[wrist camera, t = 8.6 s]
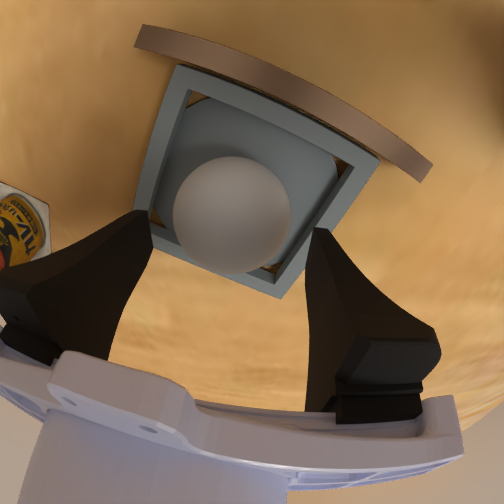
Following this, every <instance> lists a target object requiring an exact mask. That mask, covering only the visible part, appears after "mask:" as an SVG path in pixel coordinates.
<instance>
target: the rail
mask: <svg viewBox="0 0 504 504" xmlns="http://www.w3.org/2000/svg"><path fill="white" fill-rule="evenodd" d="M134 47H135V48H140V49H144V50H148V51H152V52H155V53H159V54H163V55H166V56H170V57H173V58H177V59H180V60H183V61H186V62H189V63H192V64H196V65H199V66H201V67H204V68H207V69H210V70H213V71H216V72H218V73H221V74H224V75H226V76H229V77H232V78H234V79H237V80H239V81H242V82H244V83H246V84H249V85H251V86H254V87H256V88H258V89H261V90H263V91H265V92H267V93H270V94H272V95H274V96H276V97H278V98H280V99H282V100H285V101H287V102H289V103H291V104H293V105H295V106H297V107H299V108H301V109H303V110H305V111H307V112H309V113H310V114H312V115H314V116H316V117H318V118H320V119H322V120H324V121H325V122H327V123H329V124H331V125H333V126H334V127H336V128H338V129H340V130H341V131H343V132H345V133H346V134H348V135H350V136H351V137H353V138H355V139H356V140H358V141H360V142H361V143H363V144H364V145H366V146H368V147H369V148H371V149H372V150H374V151H375V152H377V153H378V154H380V155H381V156H383V157H384V158H386V159H387V160H389V161H390V162H392V163H393V164H395V165H396V166H398V167H399V168H400V169H402V170H403V171H405V172H406V173H407V174H409V175H410V176H412V177H413V178H414V179H416V180H417V181H418V182H420V183H421V182H422V181H423V179H424V178H425V176H426V175H427V173H428V172H429V170H430V169H431V168H432V166H433V164H432V163H431V162H430V161H428V160H427V159H426V158H425V157H424V156H422V155H421V154H420V153H419V152H418V151H416V150H415V149H414V148H412V147H411V146H410V145H409V144H407V143H406V142H405V141H403V140H402V139H400V138H399V137H398V136H396V135H395V134H393V133H392V132H391V131H389V130H388V129H386V128H385V127H383V126H382V125H380V124H379V123H377V122H376V121H374V120H373V119H371V118H370V117H368V116H367V115H365V114H364V113H362V112H360V111H359V110H357V109H356V108H354V107H352V106H351V105H349V104H347V103H346V102H344V101H342V100H341V99H339V98H337V97H335V96H334V95H332V94H330V93H328V92H326V91H325V90H323V89H321V88H319V87H317V86H315V85H313V84H311V83H309V82H307V81H306V80H304V79H302V78H299V77H297V76H295V75H293V74H291V73H289V72H287V71H285V70H283V69H281V68H278V67H276V66H274V65H272V64H269V63H267V62H265V61H262V60H260V59H257V58H255V57H253V56H250V55H247V54H245V53H242V52H240V51H237V50H234V49H232V48H229V47H226V46H223V45H220V44H217V43H214V42H211V41H208V40H205V39H202V38H198V37H195V36H192V35H188V34H185V33H181V32H177V31H173V30H169V29H165V28H161V27H156V26H150V25H145V24H143V25H142V27H141V30H140V32H139V35H138V37H137V40H136V43H135V45H134Z"/></svg>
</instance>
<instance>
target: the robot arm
mask: <svg viewBox="0 0 504 504" xmlns="http://www.w3.org/2000/svg"><path fill="white" fill-rule="evenodd" d="M152 250H153V242H152V236H151V230H150V223H149V217H148V210H137V209H136V210H133V211H131V212H129V213H127V214H125V215H123V216H122V217H120V218H118V219H116V220H115V221H113V222H111V223H110V224H108V225H106V226H105V227H103V228H101V229H100V230H98V231H96V232H94V233H93V234H91V235H89V236H87V237H86V238H84V239H82V240H80V241H78V242H76V243H74V244H72V245H70V246H68V247H66V248H64V249H62V250H59V251H57V252H54V253H52V254H49V255H47V256H44V257H41V258H38V259H36V260H32V261H29V262H26V263H22V264H18V265H14V266H10V267H5V268H3V269H2V270H1V271H0V314H1V316H2V317H3V319H4V320H5V321H6V323H7V324H6V325H5V327H4V328H3V327H2V326H1V325H0V395H1V396H2V397H4V398H5V399H7V400H8V401H9V402H11V403H12V404H14V405H15V406H17V407H18V408H20V409H21V410H23V411H24V412H26V413H27V414H29V415H31V416H32V417H34V418H35V419H37V420H39V421H40V422H42V423H44V424H43V426H42V429H41V431H40V434H39V436H38V439H37V442H36V445H35V447H34V450H33V453H32V456H31V459H30V462H29V465H28V468H27V471H26V474H25V478H24V481H23V484H22V488H21V491H20V495H19V499H18V503H17V504H286V503H287V492H288V491H304V490H305V491H306V490H325V489H338V488H347V487H355V486H363V485H370V484H376V483H382V482H388V481H393V480H398V479H403V478H408V477H412V476H417V475H421V474H425V473H428V472H430V471H432V470H435V469H437V468H439V467H441V466H444V465H446V464H448V463H450V462H452V461H454V460H456V459H458V458H460V457H462V456H463V455H464V448H463V441H462V435H461V430H460V424H459V419H458V414H457V410H456V405H455V401H454V397H453V395H445V396H438V397H431V398H427V399H424V400H422V401H421V399H420V394H419V393H421V392H422V391H423V385H422V380H423V379H424V378H425V377H426V376H427V375H428V374H429V373H430V372H431V371H432V370H433V369H434V368H435V366H436V365H437V363H438V362H439V360H440V358H441V355H442V354H441V348H440V345H439V342H438V339H437V336H436V333H435V331H434V328H432V327H431V326H429V325H427V324H426V323H424V322H422V321H420V320H419V319H417V318H415V317H414V316H412V315H411V314H409V313H408V312H406V311H405V310H404V309H402V308H401V307H399V306H398V305H397V304H395V303H394V302H393V301H392V300H390V299H389V298H388V297H387V296H386V295H384V294H383V293H382V292H381V291H380V290H379V289H378V288H377V287H375V286H374V285H373V284H372V283H371V282H370V281H369V280H368V279H367V278H366V277H365V276H364V274H363V273H362V272H361V271H360V270H359V269H358V268H357V266H356V265H355V264H354V263H353V262H352V261H351V259H350V258H349V257H348V256H347V254H346V253H345V252H344V250H343V249H342V248H341V246H340V245H339V243H338V242H337V241H336V239H335V238H334V236H333V235H332V234H331V232H330V231H329V230H328V229H327V228H319V227H313V232H312V236H311V241H310V246H309V251H308V255H307V260H306V264H305V291H306V301H307V310H308V321H309V336H310V338H309V364H308V380H307V392H306V402H305V411H304V412H296V411H281V410H269V409H259V408H250V407H242V406H234V405H227V404H220V403H214V402H208V401H202V400H197V399H193V397H192V396H191V395H190V393H189V392H188V391H187V390H186V389H185V388H184V387H183V386H181V385H179V384H177V383H176V382H174V381H172V380H170V379H168V378H165V377H162V376H159V375H156V374H153V373H150V372H146V371H142V370H138V369H134V368H130V367H126V366H123V365H119V364H116V363H112V362H109V361H108V357H109V353H110V349H111V345H112V342H113V338H114V335H115V332H116V329H117V326H118V323H119V320H120V317H121V315H122V312H123V309H124V307H125V305H126V303H127V301H128V299H129V297H130V295H131V293H132V292H133V290H134V288H135V286H136V284H137V282H138V281H139V279H140V277H141V275H142V273H143V271H144V269H145V268H146V266H147V263H148V261H149V258H150V256H151V253H152Z"/></svg>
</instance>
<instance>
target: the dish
mask: <svg viewBox="0 0 504 504" xmlns="http://www.w3.org/2000/svg"><path fill="white" fill-rule="evenodd" d="M192 91H195V92H198V93H201V94H203V95H206V96H209V97H211V98H208V99H205V100H202V101H200V102H198V103H196V104H194V105H192V106H190V107H188V108H187V109H185V108H186V105H187V102H188V100H189V97H190V95H191V92H192ZM332 154H333V155H335V156H336V157H338V158H340V159H342V160H343V161H345V162H347V163H349V165H348V166H347V168H346V169H345V171H344V173H343V174H342V176H341V177H340V179H339V180H338V174H337V168H336V164H335V161H334V158H333V155H332ZM221 157H243V158H248V159H251V160H254V161H256V162H258V163H260V164H262V165H264V166H265V167H267V168H268V169H269V170H271V171H272V172H273V173H274V174H275V175H276V176H277V178H278V179H279V180H280V181H281V183H282V185H283V186H284V188H285V190H286V192H287V195H288V198H289V202H290V207H291V223H290V229H289V232H288V235H287V238H286V240H285V242H284V244H283V246H282V247H281V249H280V250H279V251H278V253H277V254H276V255H275V256H274V257H273V258H272V259H271V260H270V261H269V262H267V263H266V264H264V265H263V266H268V265H273V264H276V263H280V262H283V261H284V262H283V264H282V265H281V267H280V268H279V270H278V271H277V273H276V274H273V273H270V272H268V271H265V270H263V269H260V268H257V269H255V270H252V271H250V272H246V273H241V274H222V273H217V272H214V271H211V270H208V269H206V268H204V267H203V266H201V265H199V264H198V263H196V262H195V261H194V260H193V259H192V258H191V257H189V256H188V254H187V253H186V252H185V251H184V249H183V248H182V246H181V244H180V243H179V241H178V239H177V236H176V233H175V229H174V224H173V207H174V202H175V199H176V195H177V193H178V191H179V189H180V187H181V185H182V183H183V182H184V180H185V179H186V178H187V177H188V176H189V175H190V174H191V173H192V172H193V171H194V170H195V169H196V168H198V167H199V166H201V165H202V164H204V163H206V162H208V161H211V160H213V159H217V158H221ZM380 162H381V161H380V160H379V159H378V158H377V156H376V155H374V154H373V153H371V152H370V151H368V150H367V149H365V148H363V147H362V146H360V145H359V144H357V143H355V142H354V141H352V140H350V139H349V138H347V137H345V136H344V135H342V134H340V133H338V132H337V131H335V130H333V129H331V128H330V127H328V126H326V125H324V124H322V123H320V122H319V121H317V120H315V119H313V118H311V117H309V116H307V115H305V114H303V113H301V112H299V111H297V110H296V109H294V108H292V107H290V106H289V105H287V104H285V103H283V102H280V101H278V100H275V99H273V98H270V97H268V96H266V95H264V94H261V93H259V92H257V91H254V90H252V89H250V88H247V87H245V86H243V85H240V84H238V83H235V82H233V81H230V80H228V79H225V78H222V77H220V76H217V75H214V74H211V73H209V72H206V71H203V70H200V69H197V68H194V67H191V66H188V65H185V64H176V67H175V69H174V72H173V75H172V77H171V80H170V82H169V85H168V88H167V90H166V93H165V96H164V99H163V102H162V105H161V107H160V110H159V113H158V116H157V119H156V123H155V126H154V129H153V132H152V135H151V139H150V142H149V145H148V149H147V152H146V156H145V160H144V163H143V167H142V171H141V175H140V179H139V183H138V187H137V191H136V195H135V200H134V204H133V209H132V211H133V210H136V209H137V210H148V217H149V220H150V216H151V213H152V209H153V205H154V207H155V210H156V212H157V214H158V216H159V218H160V219H161V221H162V222H163V224H164V225H165V227H166V228H167V229H168V230H167V229H165V228H163V227H160V226H158V225H156V224H153V223H151V222H149V223H150V230H151V236H152V242H153V248H156V249H158V250H160V251H163V252H165V253H167V254H170V255H172V256H174V257H177V258H179V259H182V260H184V261H186V262H189V263H191V264H194V265H196V266H198V267H201V268H203V269H206V270H208V271H210V272H213V273H215V274H218V275H220V276H223V277H225V278H228V279H230V280H233V281H235V282H238V283H240V284H243V285H245V286H248V287H250V288H253V289H255V290H258V291H260V292H263V293H265V294H268V295H271V296H273V297H276V298H278V299H282V297H283V296H284V295H285V294H286V292H287V291H288V290H289V288H290V287H291V286H292V285H293V283H294V282H295V281H296V279H297V278H298V277H299V275H300V274H301V273H302V271H303V270H304V269H305V264H306V260H307V255H308V251H309V246H310V241H311V236H312V232H313V227H319V228H327V229H328V230H329V231H330V232H332V231H333V230H334V228H335V227H336V225H337V224H338V223H339V221H340V220H341V219H342V217H343V216H344V214H345V213H346V211H347V210H348V209H349V207H350V206H351V204H352V203H353V202H354V200H355V199H356V197H357V196H358V194H359V193H360V191H361V190H362V189H363V187H364V186H365V184H366V183H367V181H368V180H369V178H370V177H371V175H372V174H373V172H374V171H375V169H376V168H377V166H378V165H379V163H380ZM261 267H262V266H261Z"/></svg>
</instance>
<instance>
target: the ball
mask: <svg viewBox="0 0 504 504" xmlns="http://www.w3.org/2000/svg"><path fill="white" fill-rule="evenodd" d="M290 223H291V207H290V202H289V198H288V195H287V192H286V190H285V188H284V186H283V185H282V183H281V181H280V180H279V179H278V178H277V176H276V175H275V174H274V173H273V172H272V171H271V170H269V169H268V168H267V167H265V166H264V165H262V164H260V163H258V162H256V161H254V160H251V159H248V158H243V157H221V158H217V159H213V160H211V161H208V162H206V163H204V164H202V165H201V166H199V167H198V168H196V169H195V170H194V171H193V172H192V173H191V174H190V175H189V176H188V177H187V178H186V179H185V180H184V182H183V183H182V185H181V187H180V189H179V191H178V193H177V195H176V199H175V202H174V207H173V224H174V229H175V233H176V236H177V239H178V241H179V243H180V244H181V246H182V248H183V249H184V251H185V252H186V253H187V254H188V256H189V257H191V258H192V259H193V260H194V261H195V262H196V263H198V264H199V265H201V266H203V267H204V268H206V269H208V270H211V271H214V272H217V273H222V274H241V273H246V272H250V271H252V270H255V269H257V268H259V267H261V266H263V265H264V264H266V263H267V262H269V261H270V260H271V259H272V258H273V257H274V256H275V255H276V254H277V253H278V251H279V250H280V249H281V247H282V246H283V244H284V242H285V240H286V238H287V235H288V232H289V229H290Z"/></svg>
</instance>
